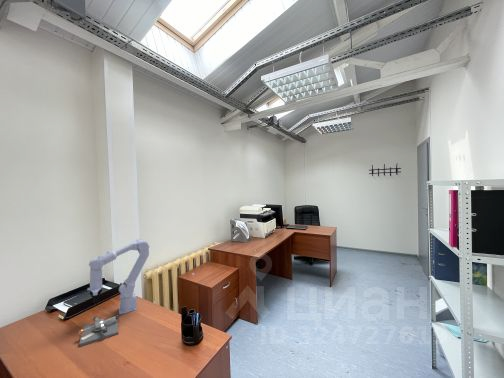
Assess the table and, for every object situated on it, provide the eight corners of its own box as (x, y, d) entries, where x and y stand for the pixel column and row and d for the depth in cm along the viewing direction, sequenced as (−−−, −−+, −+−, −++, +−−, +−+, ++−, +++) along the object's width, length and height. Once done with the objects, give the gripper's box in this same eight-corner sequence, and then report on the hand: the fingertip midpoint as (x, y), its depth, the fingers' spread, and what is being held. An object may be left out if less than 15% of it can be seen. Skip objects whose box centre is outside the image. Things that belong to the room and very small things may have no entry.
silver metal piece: (125, 326, 116) (125, 319, 116) (83, 346, 102) (83, 338, 102) (113, 314, 127) (113, 307, 127) (74, 330, 113) (74, 323, 113)
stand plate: (117, 318, 126) (117, 316, 126) (118, 334, 112) (118, 331, 112) (82, 328, 117) (82, 326, 117) (78, 347, 103) (78, 344, 103)
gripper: (88, 276, 128) (88, 299, 128) (86, 285, 116) (86, 310, 116) (102, 274, 132) (102, 296, 132) (101, 282, 120) (101, 306, 120)
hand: (96, 302), depth 124 cm, fingers closed
